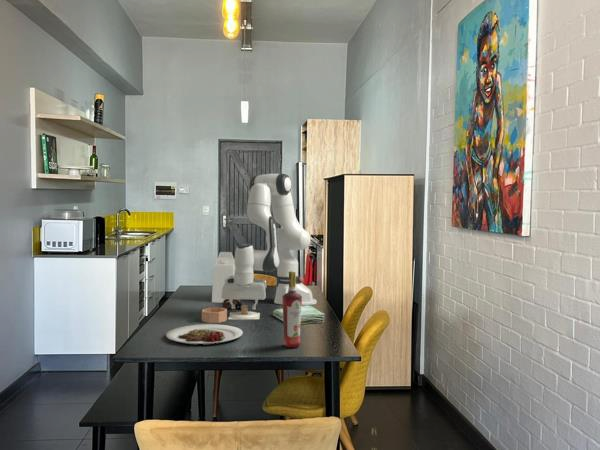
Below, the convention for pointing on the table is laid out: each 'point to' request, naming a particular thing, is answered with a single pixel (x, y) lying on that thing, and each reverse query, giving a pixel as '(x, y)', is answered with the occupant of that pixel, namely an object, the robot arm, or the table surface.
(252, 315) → the lid
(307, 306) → the towel
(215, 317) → the bowl
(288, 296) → the liquor
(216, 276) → the milk
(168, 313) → the table surface
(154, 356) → the table surface
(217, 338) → the plated food
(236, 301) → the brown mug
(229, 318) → the mat
